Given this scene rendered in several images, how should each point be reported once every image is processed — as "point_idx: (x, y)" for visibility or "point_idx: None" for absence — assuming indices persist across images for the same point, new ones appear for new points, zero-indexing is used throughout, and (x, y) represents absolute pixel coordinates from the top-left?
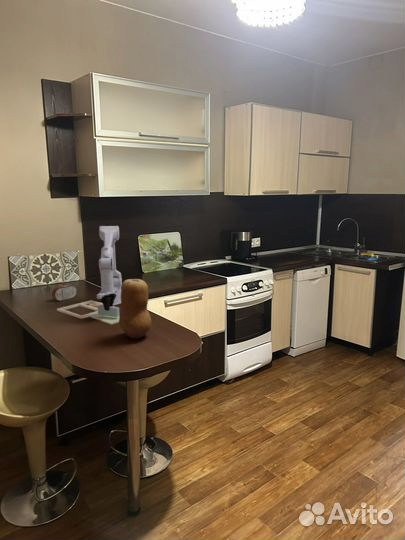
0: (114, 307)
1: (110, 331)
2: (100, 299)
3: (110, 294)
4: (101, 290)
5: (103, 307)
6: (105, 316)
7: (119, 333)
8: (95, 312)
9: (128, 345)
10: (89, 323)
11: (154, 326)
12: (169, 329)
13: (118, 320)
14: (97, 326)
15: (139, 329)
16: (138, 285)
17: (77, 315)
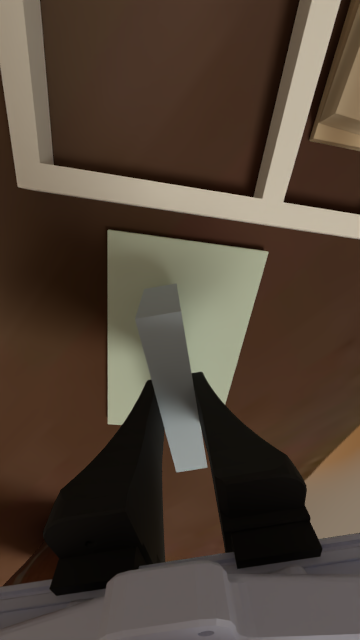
0: (189, 448)
1: (47, 466)
2: (79, 476)
3: (235, 564)
4: (174, 634)
5: (151, 374)
6: None
7: None
8: (183, 211)
9: (15, 555)
10: (33, 318)
11: (195, 521)
12: (195, 552)
13: None
14: (40, 388)
15: None
16: None
17: (7, 112)
